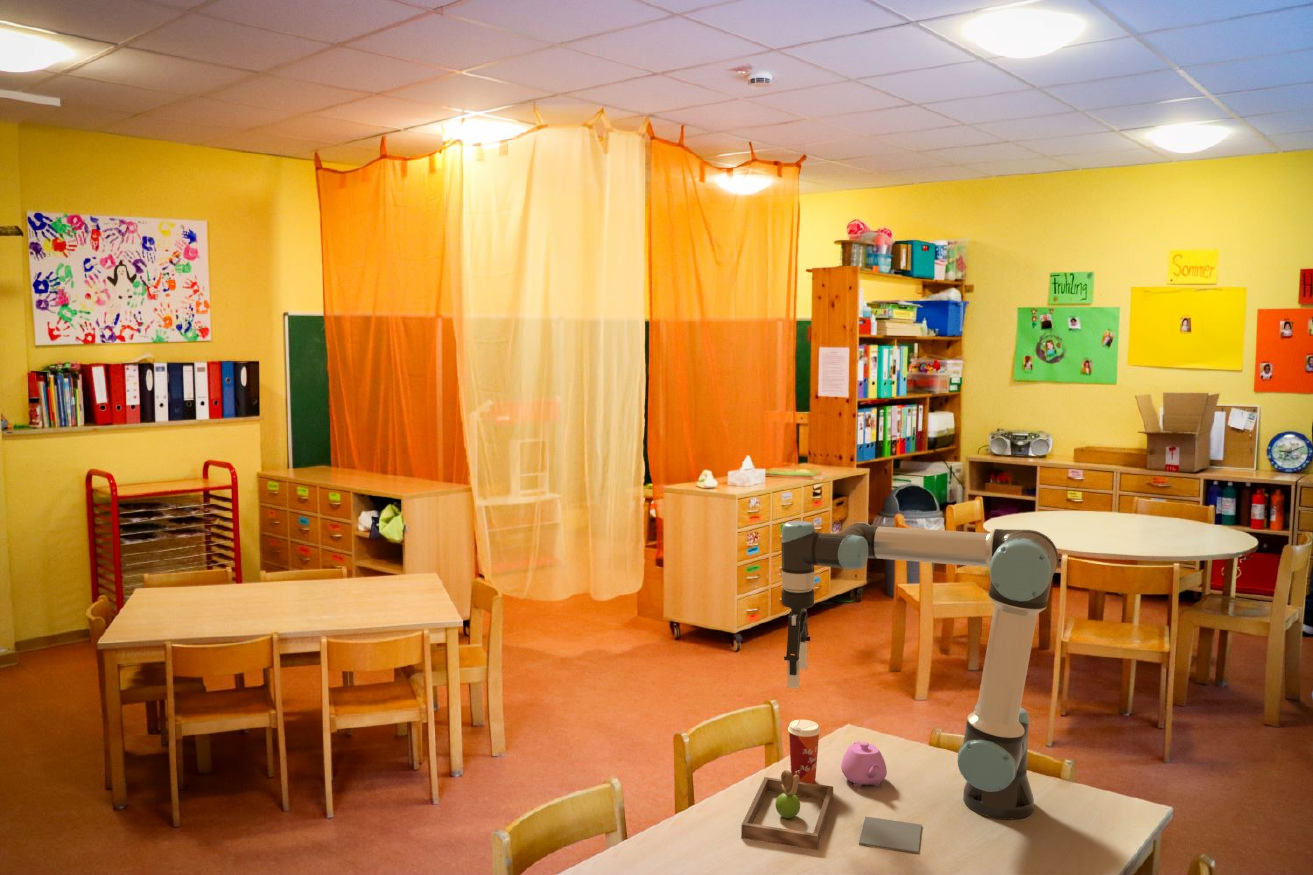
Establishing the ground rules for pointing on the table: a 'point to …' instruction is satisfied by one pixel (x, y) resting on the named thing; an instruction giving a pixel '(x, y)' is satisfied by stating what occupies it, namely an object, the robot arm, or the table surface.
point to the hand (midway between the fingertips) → (797, 678)
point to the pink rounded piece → (863, 764)
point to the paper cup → (804, 749)
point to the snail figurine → (788, 795)
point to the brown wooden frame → (787, 835)
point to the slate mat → (890, 834)
